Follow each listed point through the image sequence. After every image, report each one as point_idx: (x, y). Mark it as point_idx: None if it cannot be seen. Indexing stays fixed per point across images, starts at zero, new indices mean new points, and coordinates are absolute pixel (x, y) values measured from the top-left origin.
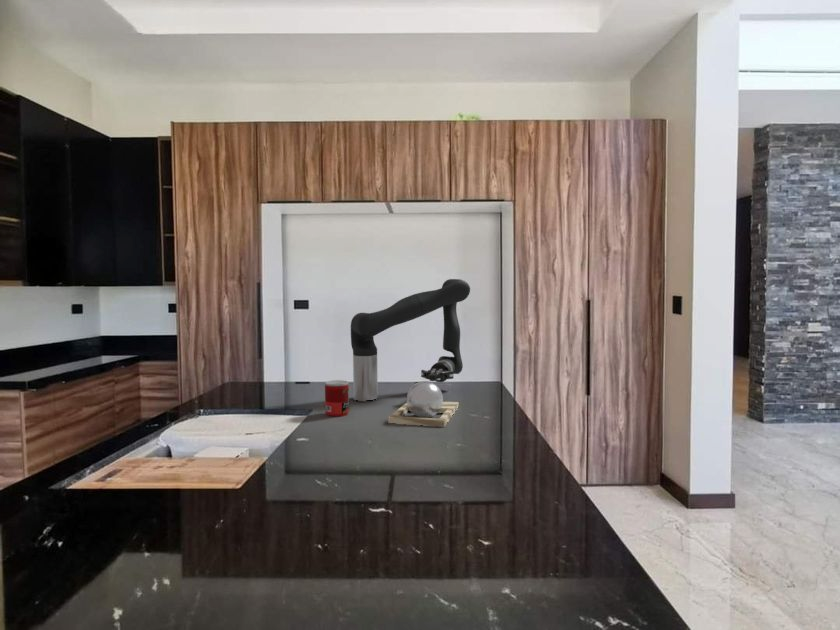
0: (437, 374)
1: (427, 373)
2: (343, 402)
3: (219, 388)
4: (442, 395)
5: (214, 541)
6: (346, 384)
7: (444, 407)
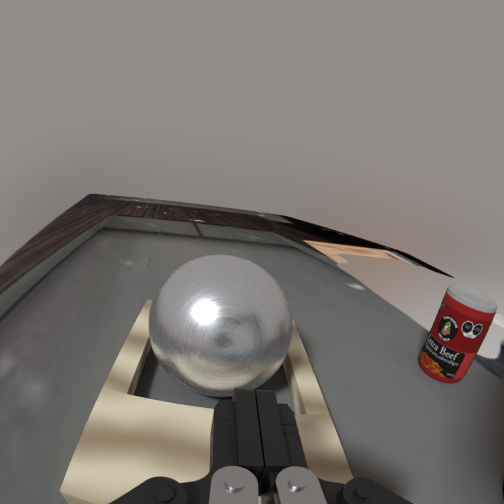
0: (221, 474)
1: (354, 482)
2: (430, 331)
3: None
4: (150, 309)
5: (265, 221)
6: (450, 293)
7: (141, 405)
